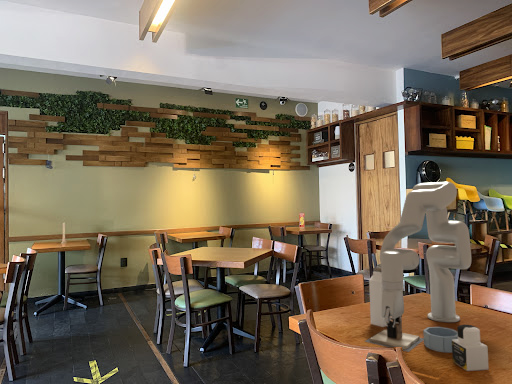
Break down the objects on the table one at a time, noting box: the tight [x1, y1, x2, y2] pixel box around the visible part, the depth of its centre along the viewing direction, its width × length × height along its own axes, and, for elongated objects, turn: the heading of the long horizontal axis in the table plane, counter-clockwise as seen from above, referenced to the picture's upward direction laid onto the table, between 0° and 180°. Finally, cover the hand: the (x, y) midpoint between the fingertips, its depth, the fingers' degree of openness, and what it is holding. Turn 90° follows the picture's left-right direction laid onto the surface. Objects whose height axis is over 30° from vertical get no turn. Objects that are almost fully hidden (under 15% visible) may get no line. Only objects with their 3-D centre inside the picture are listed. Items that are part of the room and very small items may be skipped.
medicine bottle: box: [451, 324, 490, 372], centre depth 117 cm, size 7×7×12 cm
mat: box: [364, 331, 424, 353], centre depth 139 cm, size 16×16×1 cm
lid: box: [370, 320, 420, 349], centre depth 139 cm, size 13×13×6 cm
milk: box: [368, 271, 392, 328], centre depth 159 cm, size 6×6×22 cm
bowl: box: [422, 326, 458, 353], centre depth 132 cm, size 11×11×6 cm
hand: (394, 335), depth 139 cm, fingers closed on lid, 4 cm apart
